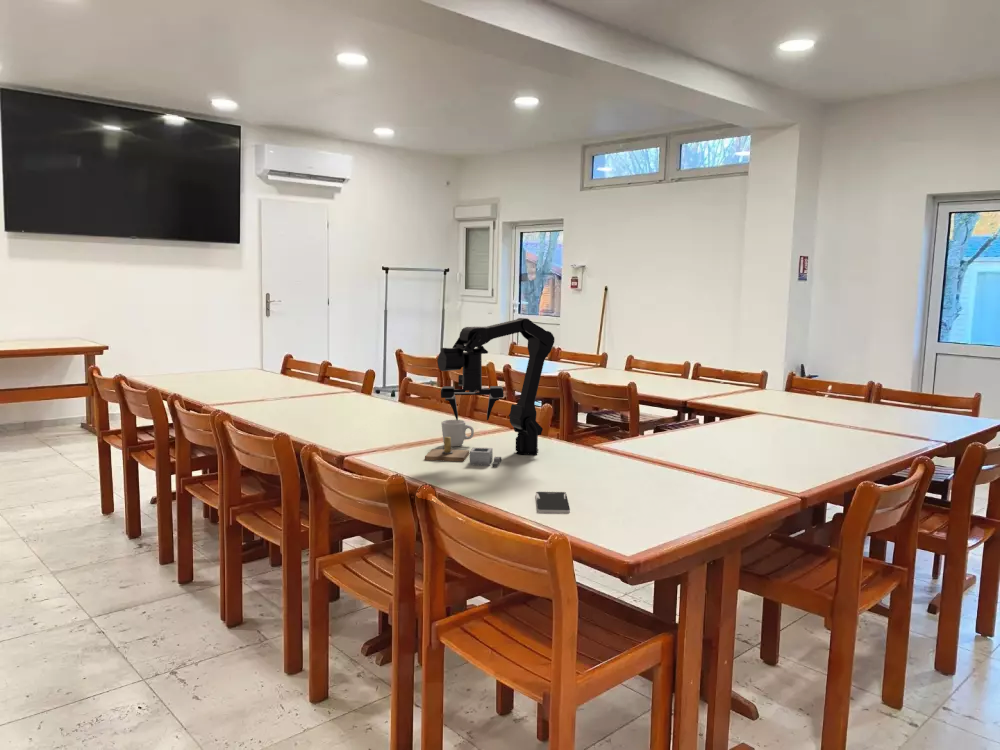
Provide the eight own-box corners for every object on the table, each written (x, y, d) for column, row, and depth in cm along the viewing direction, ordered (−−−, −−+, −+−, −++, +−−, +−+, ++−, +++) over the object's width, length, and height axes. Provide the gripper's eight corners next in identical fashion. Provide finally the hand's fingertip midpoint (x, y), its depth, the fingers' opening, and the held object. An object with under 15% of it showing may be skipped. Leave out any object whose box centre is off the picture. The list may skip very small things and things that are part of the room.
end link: (492, 461, 222) (492, 448, 222) (489, 465, 216) (489, 452, 216) (472, 460, 223) (473, 447, 223) (469, 465, 217) (469, 451, 217)
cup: (475, 443, 247) (475, 420, 246) (472, 448, 239) (472, 424, 238) (443, 442, 248) (443, 419, 247) (439, 447, 240) (439, 423, 239)
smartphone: (537, 509, 172) (535, 491, 187) (537, 515, 172) (535, 496, 187) (570, 510, 172) (565, 491, 187) (570, 515, 172) (565, 496, 187)
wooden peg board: (469, 454, 231) (469, 434, 230) (463, 461, 221) (463, 441, 221) (432, 452, 233) (432, 433, 232) (424, 460, 223) (424, 440, 222)
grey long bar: (501, 460, 223) (501, 454, 223) (497, 467, 215) (497, 461, 214) (496, 459, 224) (496, 454, 223) (492, 467, 215) (492, 461, 215)
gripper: (502, 365, 228) (502, 415, 230) (442, 366, 228) (442, 415, 230) (503, 370, 217) (503, 421, 219) (440, 370, 217) (441, 422, 219)
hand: (472, 420), depth 222 cm, fingers open, 9 cm apart
